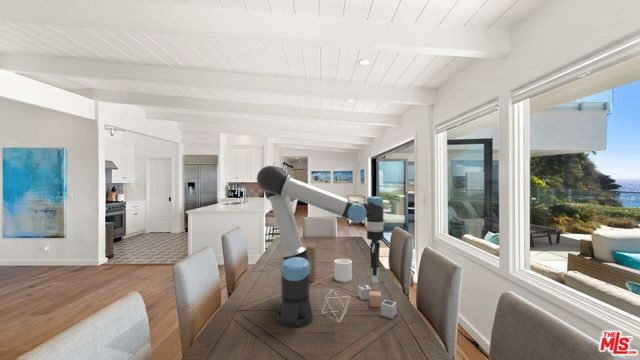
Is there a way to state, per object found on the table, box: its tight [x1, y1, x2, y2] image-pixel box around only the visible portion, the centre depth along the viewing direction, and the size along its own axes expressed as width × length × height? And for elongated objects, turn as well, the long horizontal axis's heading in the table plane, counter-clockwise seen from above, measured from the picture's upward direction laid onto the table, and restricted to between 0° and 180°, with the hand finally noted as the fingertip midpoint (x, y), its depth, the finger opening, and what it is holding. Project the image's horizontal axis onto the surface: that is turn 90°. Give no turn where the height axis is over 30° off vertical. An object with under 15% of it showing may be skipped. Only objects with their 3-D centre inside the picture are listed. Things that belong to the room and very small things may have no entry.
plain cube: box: [369, 290, 382, 308], centre depth 127 cm, size 5×5×5 cm
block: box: [301, 242, 317, 283], centre depth 159 cm, size 10×10×20 cm
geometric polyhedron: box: [321, 288, 351, 323], centre depth 117 cm, size 12×11×9 cm
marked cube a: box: [380, 299, 398, 320], centre depth 117 cm, size 5×5×5 cm
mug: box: [334, 258, 353, 283], centre depth 161 cm, size 13×10×10 cm
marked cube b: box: [357, 284, 372, 301], centre depth 135 cm, size 5×5×5 cm
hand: (375, 281), depth 127 cm, fingers closed
